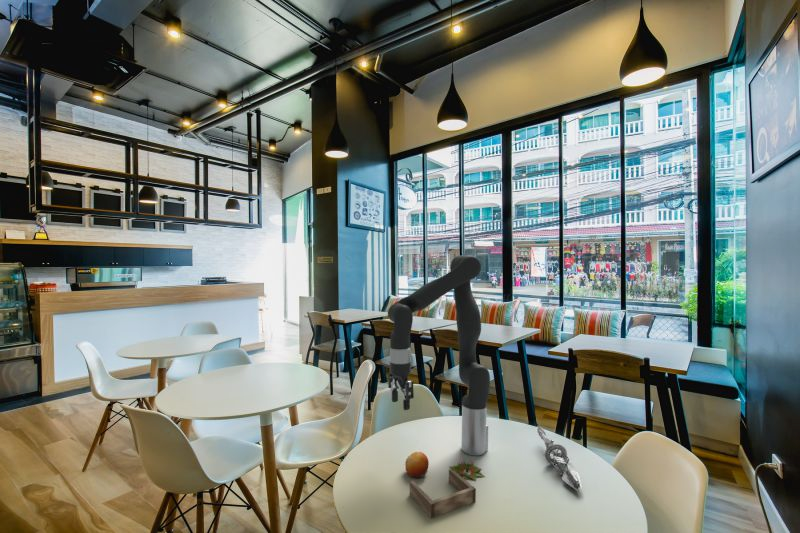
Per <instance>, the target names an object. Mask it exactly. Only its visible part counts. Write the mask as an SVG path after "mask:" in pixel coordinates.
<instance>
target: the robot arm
mask: <svg viewBox="0 0 800 533" xmlns="http://www.w3.org/2000/svg"><path fill="white" fill-rule="evenodd" d="M449 270H450V271H449V272H447V273H446V274H444V275H442V276H440V277H438V278H436V279H433V280H431V281H429V282H427V283H425V284H424V285H422V286H421V287H419V288H418V289H417V290H415V291H414V292H412V293H411V294H410V295H408V296H405V297H404V298H401V299H399V300H398V301H396V302H394V303H393V304H392V305H390V307H389V308H388V311H387V317H388V319H389V320H390V322H391V321H392V323H393V331H392V332H391V333H390V339H389V340H390V347H389V348H390V349H389V350H390V351H389V372H388V382H387V383H388V385H387V386H388V389H390V391H391V402H392V403H396V402H398V401H399V392H400V394H401V396H402V398H403V400H402V407H403V411H408V410H410V408H411V404H410V403H411V400H412V399H414V394H415V393H414V381H413V380H409V377H408V376H409V375H410V374H411V373H412V364H411V363H412V359H411V357H412V354H411V332H412V328H413V321H414V318H413V317H414V316H413V314H414V313H416V312H421V311H423V310H424V309H426V308H428V307H429V306H430V305H432V304H433V303H434V302H436V301H437V300H438V299H440V298H442V297H443V296H444V295H446V294H447V293H449V292H451V291H452V290H453V292H454V303H455V304H454V306H455V315H456V316H455V317H456V319H455V320H456V329H457V339H458V354H459V355H458V376H459V378H460V381H461V383H463V384H464V385H466V386H468V394H465V395H464V396H463V397H462V399H461V400H462V402H461V403H462V404H461V405H462V406H461V451H462V452H463V453H465V454H467V455H469V456H482V455H484V454H485V453H486V452H487V451H488V450H489V425H488V424H487V406H488V405H487V403H488V401H489V398H490V386H491V385H490V384H491V382H490V381H491V375H490V372H489V370H488V368H487V367H486V366H484V365H482V364H479V363H478V362H477V354H476V352H477V350H476V349H477V343H478V342H479V339H480V336H481V333H482V319H481V312H480V309H479V305H478V304H477V302H476V300H475V297H474V295H473V292H472V288H471V287H472V286H471V280H473V279H475V278H477V277H478V276H479V274H480V273H481V270H482V263H481V261H480V259H479V258H478V257H476V256H474V255H470V254H468V255H467V254H466V255H465V254H464V255H457V256H454V257H453V259H451V262H450V268H449Z"/></svg>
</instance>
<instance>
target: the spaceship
mask: <svg viewBox="0 0 800 533" xmlns="http://www.w3.org/2000/svg"><path fill="white" fill-rule="evenodd" d="M537 433H538V436H539V437H540V439H542V440H543V442H544V445H545V447H546V449H545V451H544V458H545V461H546V462H547V463H549V464H550V465H552V464H553V467H554V468H555V469H557V470H556V472H557V473H559V474H558V475H559V476H560V475H561V479H562V481H563V482H565V483H566V484H567V485H568V486H569V487H571V488H573V489H574V490H575V491H580V488H582V481H581V476H580V472H578V471H576V470H570V468H569V467H568V466H570V467H571V468H574V469H575V467H574V465H573V464H572V463H571V462H570V458H569V457H568V452H567V449H566V447H565V446H563V445H562V444H559V443H554V442H555V441H554V439H552V438H551V439H549V438H548V436H547V434H546V432H545V430H544V429H543V427H541V426H537ZM554 464H555V465H554ZM556 464H559V465H556Z"/></svg>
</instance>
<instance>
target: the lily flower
mask: <svg viewBox="0 0 800 533" xmlns="http://www.w3.org/2000/svg"><path fill="white" fill-rule="evenodd" d="M466 461H467V459H466V458H464V459H462V461H460V462H459V463H458V465H452V466H450V468H451V469H453V470H454V471H455V472H456V473H457V474H459V475H460V476H461V477H462V478H464V479H465V480H468V479H471V480H473V481H475V482H477V477H483V478H484V477H486V476H485V475H484V474H483V473H482V472H480V471H481V470H482V468H480V467H478V466H476V465H475V462H474V461H473V462H471V461H468V463H466ZM464 472H466V473H464ZM468 472H470V473H469V474H468ZM464 475H465V476H464Z"/></svg>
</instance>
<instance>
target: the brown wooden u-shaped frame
mask: <svg viewBox="0 0 800 533" xmlns="http://www.w3.org/2000/svg"><path fill="white" fill-rule="evenodd" d="M464 478H465V477H464ZM464 478H462V477H461V476H460V474H457V473H456V472H455V470H454V469H452V468H451V469H448V483H449V484H450V485H452V487H454V488H455V489H456V490H457V491H456V492H453V493H450V494H447V495H444V496H441V497H438V498H435V499H433V500H432V498H431V497H430V496H429V495H428V494H427V493H425V491H424V490H423V489H422V488H421V487H420V486H419V485H418V484H417V483H416V482H415V480H411V481H409V496H410V497H411V498H412V499H413V500H414V501H415V502H416V504H418V506H419V508H421V509H422V510H423V511H424V513H425V514H426V515H428V517H429V518H430V519H433V518H437V517H438V516H440V515H444V514H447V513H450V512H452V511H454V510H458V509H460V508H463V507H465V506H468V505H470V504H473V503H476V502H477V501H476V498H477V497H476V496H477V495H476V494H477V492H476V491H477V490H476V487H475V486H473V485H472V484H471V483H470V482H468V481H467V479H464Z"/></svg>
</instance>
